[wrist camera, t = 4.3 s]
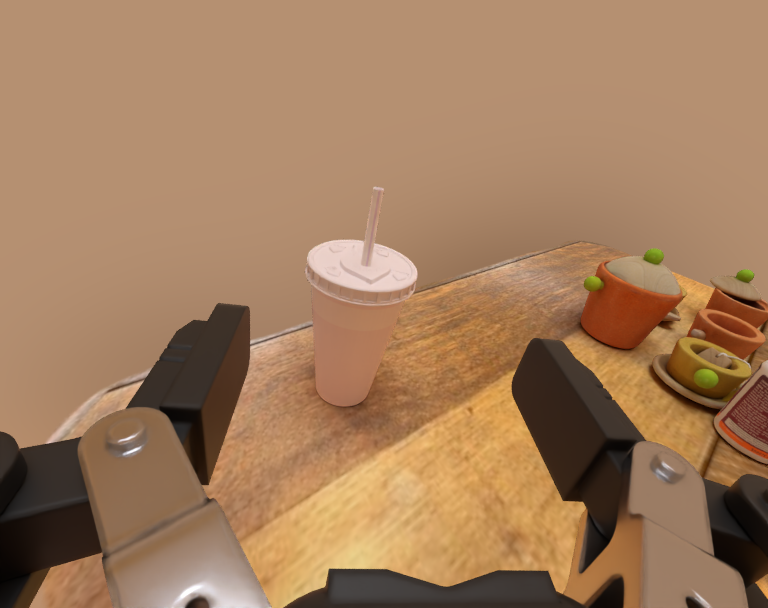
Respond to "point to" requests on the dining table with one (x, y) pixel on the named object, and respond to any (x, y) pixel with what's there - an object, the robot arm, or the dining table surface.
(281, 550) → the dining table surface
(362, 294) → the smoothie
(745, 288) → the toy tea set
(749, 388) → the pill bottle
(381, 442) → the dining table surface
